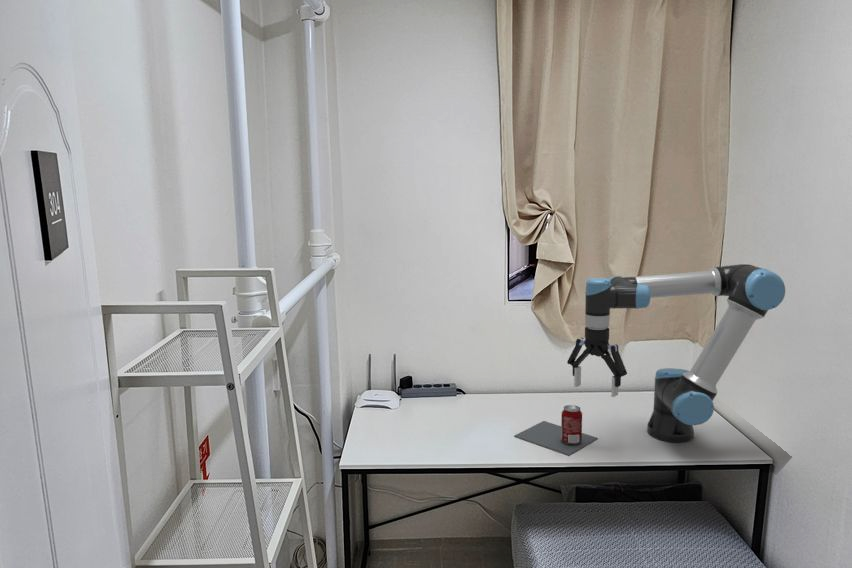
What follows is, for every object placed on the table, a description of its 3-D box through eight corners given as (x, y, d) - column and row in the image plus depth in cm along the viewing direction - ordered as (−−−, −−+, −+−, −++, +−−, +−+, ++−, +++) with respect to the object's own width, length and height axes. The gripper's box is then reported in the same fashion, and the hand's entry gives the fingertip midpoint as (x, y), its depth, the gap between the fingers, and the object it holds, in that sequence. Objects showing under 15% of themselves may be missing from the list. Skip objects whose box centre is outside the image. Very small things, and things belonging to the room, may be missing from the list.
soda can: (581, 446, 208) (582, 412, 206) (560, 445, 209) (561, 411, 207) (581, 438, 214) (582, 405, 212) (560, 437, 216) (561, 403, 214)
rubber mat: (597, 438, 215) (597, 437, 215) (569, 456, 202) (569, 454, 202) (543, 421, 230) (543, 420, 230) (514, 436, 217) (514, 435, 217)
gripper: (639, 331, 192) (637, 396, 196) (570, 319, 210) (569, 379, 214) (627, 335, 187) (625, 403, 191) (557, 323, 205) (556, 385, 209)
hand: (595, 390), depth 203 cm, fingers open, 13 cm apart
